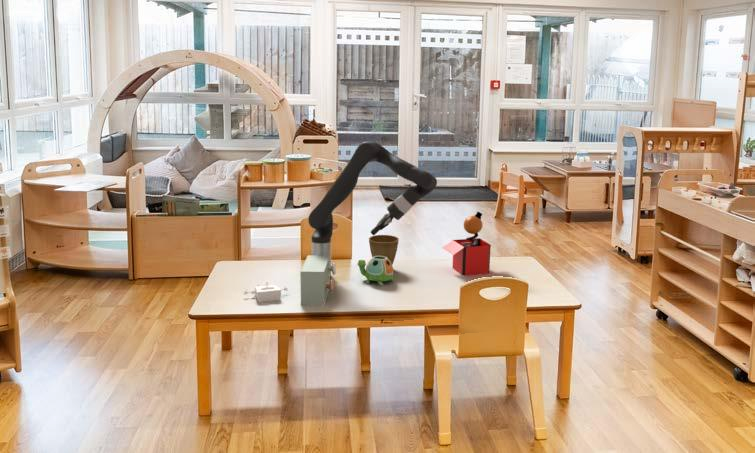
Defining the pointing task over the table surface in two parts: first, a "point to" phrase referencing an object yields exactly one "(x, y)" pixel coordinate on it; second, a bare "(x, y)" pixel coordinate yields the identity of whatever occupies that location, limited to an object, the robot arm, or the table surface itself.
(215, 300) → the table surface
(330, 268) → the plunger cream
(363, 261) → the turtle holder
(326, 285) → the plunger terracotta
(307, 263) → the console
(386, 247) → the plant pot
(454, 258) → the jack-in-the-box
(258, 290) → the cartoon character
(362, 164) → the robot arm
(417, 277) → the table surface
